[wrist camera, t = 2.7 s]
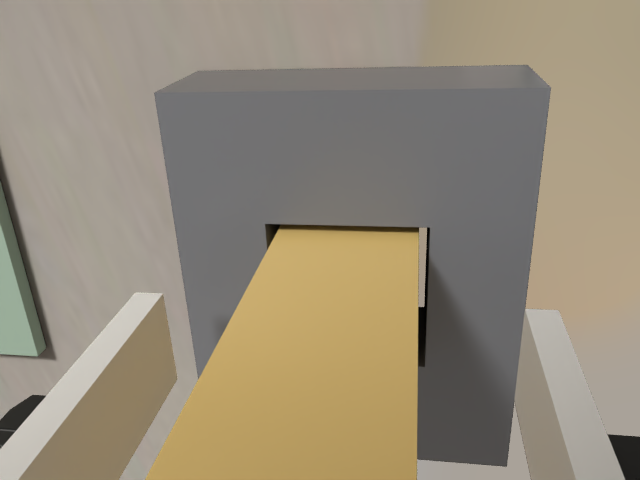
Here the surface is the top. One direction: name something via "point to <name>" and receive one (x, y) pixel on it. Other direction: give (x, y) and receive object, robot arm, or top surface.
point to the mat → (15, 296)
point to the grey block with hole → (373, 208)
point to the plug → (311, 366)
